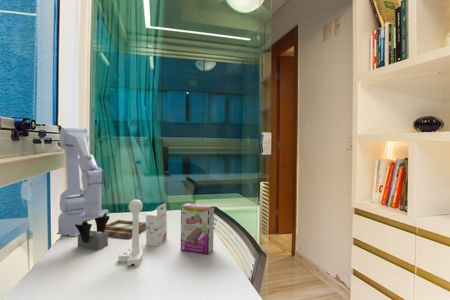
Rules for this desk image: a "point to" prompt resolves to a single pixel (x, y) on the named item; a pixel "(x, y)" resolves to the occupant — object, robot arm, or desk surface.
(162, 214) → the ink cartridge box
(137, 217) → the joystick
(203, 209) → the candy bar box
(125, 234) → the stand
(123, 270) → the desk surface
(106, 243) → the housing
